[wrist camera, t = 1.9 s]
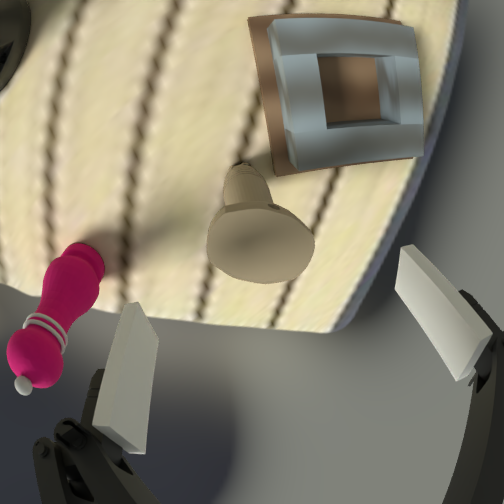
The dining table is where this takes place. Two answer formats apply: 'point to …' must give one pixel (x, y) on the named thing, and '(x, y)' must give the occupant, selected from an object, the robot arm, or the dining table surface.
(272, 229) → the handle
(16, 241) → the dining table surface
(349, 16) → the frame
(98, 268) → the pepper mill
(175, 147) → the dining table surface
